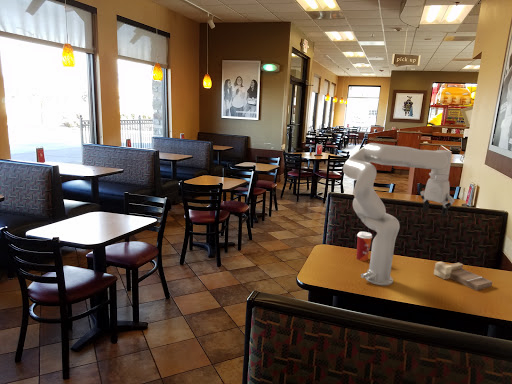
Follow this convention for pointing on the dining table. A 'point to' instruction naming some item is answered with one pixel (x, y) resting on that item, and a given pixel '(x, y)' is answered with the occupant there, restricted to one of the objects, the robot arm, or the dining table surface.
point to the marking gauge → (446, 269)
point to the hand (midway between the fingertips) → (434, 212)
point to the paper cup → (363, 245)
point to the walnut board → (470, 279)
